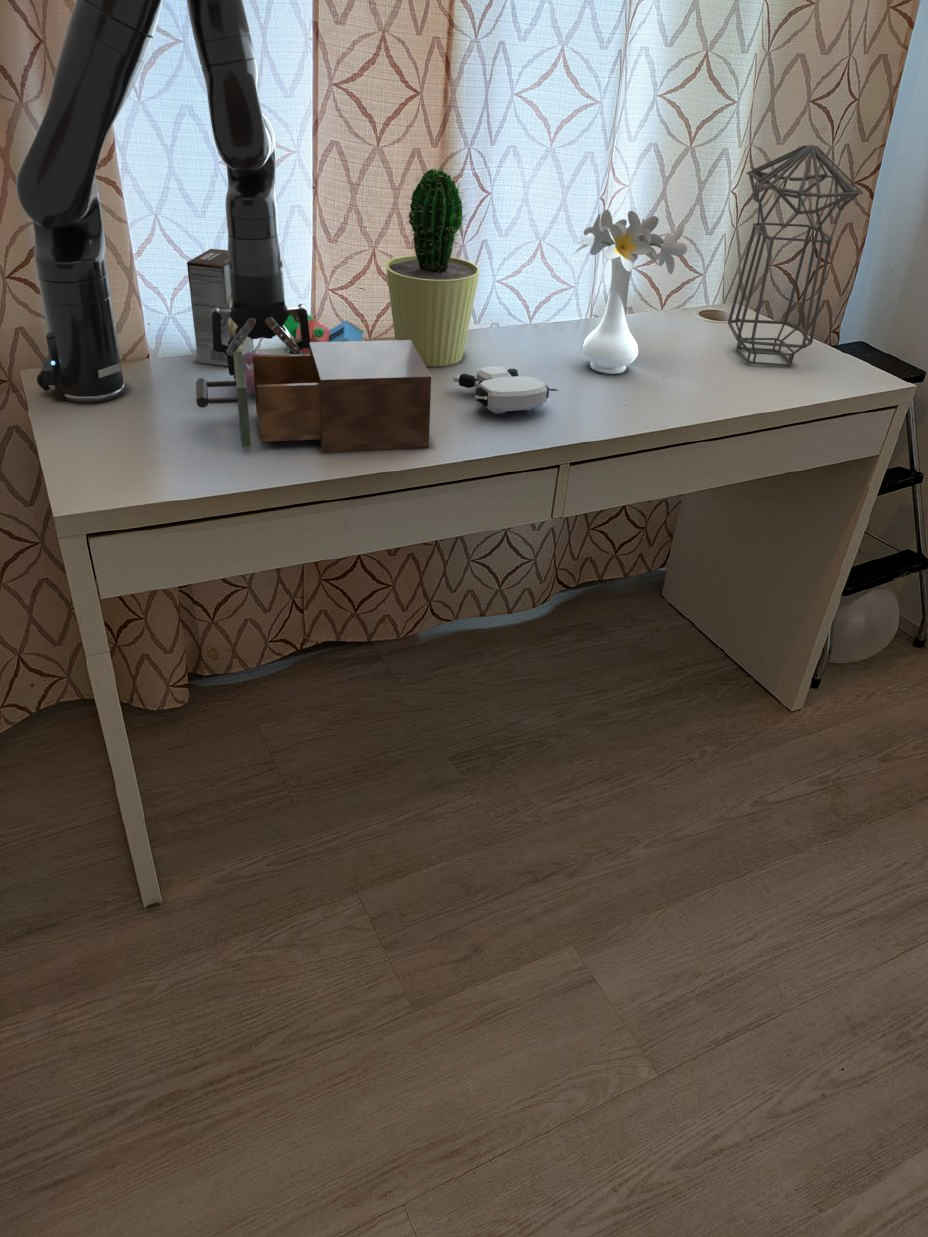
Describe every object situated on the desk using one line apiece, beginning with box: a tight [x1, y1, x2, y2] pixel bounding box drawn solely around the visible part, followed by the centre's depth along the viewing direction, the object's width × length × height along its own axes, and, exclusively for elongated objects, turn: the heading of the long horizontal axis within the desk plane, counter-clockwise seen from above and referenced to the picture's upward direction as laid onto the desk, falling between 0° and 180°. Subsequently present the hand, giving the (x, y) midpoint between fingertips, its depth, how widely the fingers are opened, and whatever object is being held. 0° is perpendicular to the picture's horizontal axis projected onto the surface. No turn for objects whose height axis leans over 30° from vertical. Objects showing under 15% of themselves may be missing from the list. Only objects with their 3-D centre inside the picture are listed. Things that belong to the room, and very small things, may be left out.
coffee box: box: [186, 248, 255, 367], centre depth 156 cm, size 9×6×16 cm
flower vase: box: [572, 209, 688, 375], centre depth 160 cm, size 13×18×25 cm
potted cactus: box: [384, 165, 481, 368], centre depth 158 cm, size 15×15×30 cm
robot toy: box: [452, 365, 560, 415], centre depth 150 cm, size 12×4×15 cm
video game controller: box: [242, 349, 264, 394], centre depth 148 cm, size 10×5×7 cm, turn 5°
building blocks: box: [283, 313, 365, 354], centre depth 163 cm, size 8×8×12 cm
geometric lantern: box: [727, 144, 864, 367], centre depth 165 cm, size 16×16×35 cm
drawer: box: [195, 352, 322, 449], centre depth 134 cm, size 19×14×8 cm
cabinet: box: [309, 339, 432, 453], centre depth 137 cm, size 15×15×10 cm
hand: (264, 376), depth 148 cm, fingers open, 8 cm apart
